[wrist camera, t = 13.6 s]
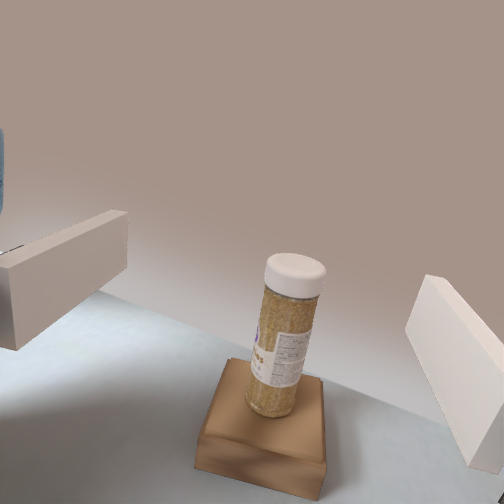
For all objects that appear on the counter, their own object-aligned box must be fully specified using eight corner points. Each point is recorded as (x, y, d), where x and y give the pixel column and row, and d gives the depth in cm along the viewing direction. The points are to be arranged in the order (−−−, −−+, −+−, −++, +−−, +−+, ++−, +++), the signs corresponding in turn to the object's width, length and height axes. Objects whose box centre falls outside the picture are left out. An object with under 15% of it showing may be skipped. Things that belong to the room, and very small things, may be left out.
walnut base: (194, 468, 28) (199, 431, 27) (223, 384, 37) (228, 354, 36) (316, 501, 27) (328, 464, 26) (315, 407, 36) (324, 376, 35)
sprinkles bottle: (240, 382, 32) (261, 249, 28) (287, 381, 33) (314, 252, 29) (249, 422, 28) (275, 273, 23) (301, 420, 29) (337, 276, 24)
